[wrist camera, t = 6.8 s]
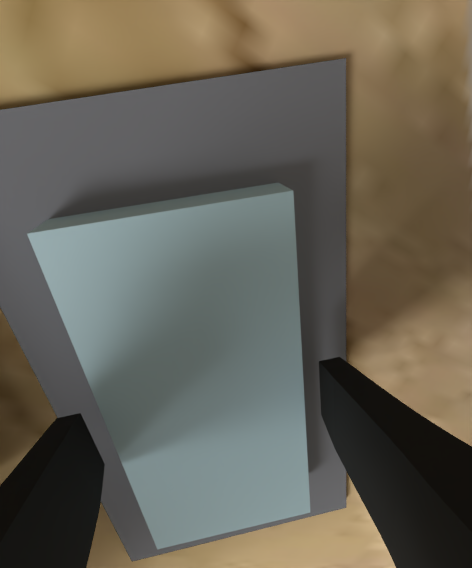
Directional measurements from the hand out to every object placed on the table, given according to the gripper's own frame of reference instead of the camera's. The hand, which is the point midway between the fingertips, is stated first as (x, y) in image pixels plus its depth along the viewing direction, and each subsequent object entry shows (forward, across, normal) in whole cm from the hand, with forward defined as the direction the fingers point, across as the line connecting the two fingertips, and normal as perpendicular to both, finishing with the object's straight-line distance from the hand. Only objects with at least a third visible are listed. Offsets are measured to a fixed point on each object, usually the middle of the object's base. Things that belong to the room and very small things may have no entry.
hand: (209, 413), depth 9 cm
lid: (+1, 0, 0) cm, 1 cm away
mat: (+1, 0, 0) cm, 1 cm away
